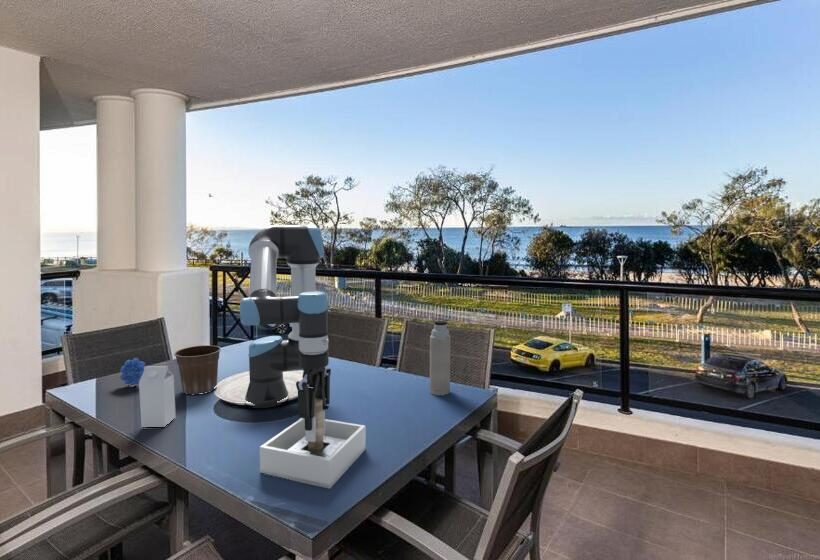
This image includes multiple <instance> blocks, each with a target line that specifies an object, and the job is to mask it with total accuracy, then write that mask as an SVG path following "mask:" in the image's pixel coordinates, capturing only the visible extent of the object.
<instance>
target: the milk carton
mask: <svg viewBox="0 0 820 560" xmlns="http://www.w3.org/2000/svg"><path fill="white" fill-rule="evenodd" d="M174 375H175V374H173V373H172V372H171V370H169V366H168V365H154V366H151V365H150V366H149V365H148V366H146V365H145V366H144V372H143V374H142V377H141V379H140V381H139V384H138V386H139V387H138V388H139V389H138V390H139V404H140V405H139V406H140V424H141V428H142V427H165V426H166V425H167V424H169V423H170V422H171V421H172V420H173V419H174V418H175V419H176V400H175V399H176V398H175V395H176V394H175V376H174ZM175 419H174V420H175ZM174 420H173V421H174ZM173 421H172V422H173ZM172 422H171V423H172ZM171 423H170V424H171ZM170 424H169V425H170ZM167 426H168V425H167ZM167 426H166V427H167ZM166 427H165V428H166Z"/></svg>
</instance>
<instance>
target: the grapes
mask: <svg viewBox="0 0 820 560" xmlns="http://www.w3.org/2000/svg"><path fill="white" fill-rule="evenodd" d="M145 366H146V363H145V362H144V361H140V360H139V358H137V357H134V358H133V359H126V361H125V362H124V365H123V366H121V367H120V368H119V369H120V373H122V374H121V375H120V380H121V381H124V385H125V384H130V383H131V385H134V384H138V383H139V381H140V379H141V377H142V374H143V372H144V367H145ZM131 385H130V386H131ZM138 385H139V384H138Z"/></svg>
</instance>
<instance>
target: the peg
mask: <svg viewBox="0 0 820 560" xmlns="http://www.w3.org/2000/svg"><path fill="white" fill-rule="evenodd" d="M313 417H316V441H315V442H310V441H308V451H310V452H316V453H320V452H321V451H322V450H323V400H322V399H320V398H315V404H314V416H313Z"/></svg>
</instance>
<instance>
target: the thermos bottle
mask: <svg viewBox="0 0 820 560" xmlns="http://www.w3.org/2000/svg"><path fill="white" fill-rule="evenodd" d="M433 323H434V325H433V329H432V330H431V335H430V336H429V393H430V394H432V395H433V394H434V396H440V395H441V396H446V395H445V394H447V395H449V394H450V393H451V343H452V342H451V341H452V340H451V338H452V336H451V335H450V331H449V329H447V327H448V326H447V324H448V322H447V321H444V320H436V321H434V322H433ZM448 393H449V394H448Z"/></svg>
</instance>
